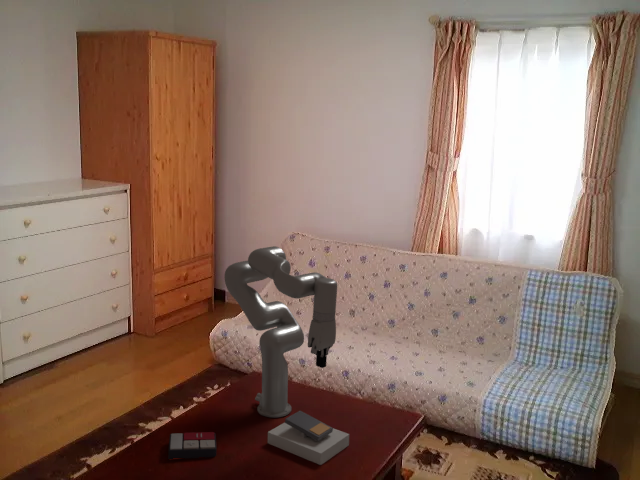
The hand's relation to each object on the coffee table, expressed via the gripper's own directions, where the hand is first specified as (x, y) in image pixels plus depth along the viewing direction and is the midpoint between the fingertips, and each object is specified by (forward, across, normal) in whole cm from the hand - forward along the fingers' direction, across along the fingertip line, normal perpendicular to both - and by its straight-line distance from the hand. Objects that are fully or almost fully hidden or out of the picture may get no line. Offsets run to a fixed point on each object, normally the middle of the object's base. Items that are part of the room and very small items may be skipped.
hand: (320, 366), depth 216 cm
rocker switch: (+17, +9, +3) cm, 20 cm away
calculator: (+26, +37, -22) cm, 50 cm away
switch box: (+24, +9, +4) cm, 26 cm away
